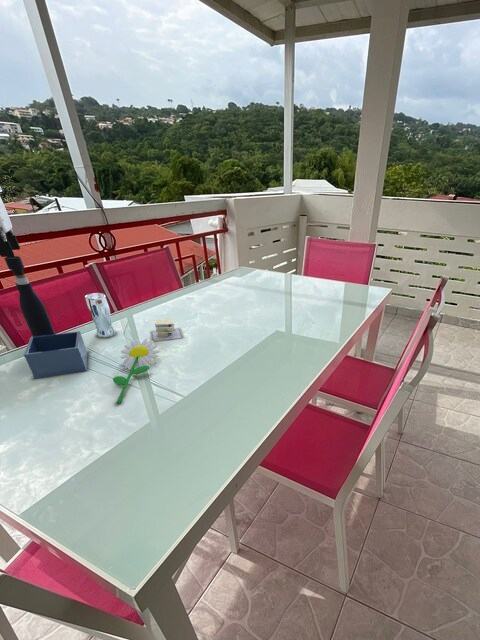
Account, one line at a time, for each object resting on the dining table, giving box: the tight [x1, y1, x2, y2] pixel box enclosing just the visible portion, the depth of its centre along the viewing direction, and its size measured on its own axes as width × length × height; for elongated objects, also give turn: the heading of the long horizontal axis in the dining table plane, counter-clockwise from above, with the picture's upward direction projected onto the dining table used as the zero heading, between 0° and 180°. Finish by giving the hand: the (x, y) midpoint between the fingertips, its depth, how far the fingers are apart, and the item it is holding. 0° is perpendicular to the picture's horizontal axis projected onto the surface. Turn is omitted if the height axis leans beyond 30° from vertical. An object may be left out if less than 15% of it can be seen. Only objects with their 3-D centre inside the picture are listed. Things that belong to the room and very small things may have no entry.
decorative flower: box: [112, 338, 161, 404], centre depth 103 cm, size 13×5×30 cm
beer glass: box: [84, 292, 116, 338], centre depth 123 cm, size 7×7×15 cm
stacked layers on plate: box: [151, 318, 182, 342], centre depth 128 cm, size 10×9×6 cm
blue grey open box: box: [23, 330, 88, 379], centre depth 105 cm, size 14×14×8 cm
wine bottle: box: [3, 255, 56, 337], centre depth 108 cm, size 6×6×30 cm
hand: (11, 252), depth 99 cm, fingers open, 9 cm apart
